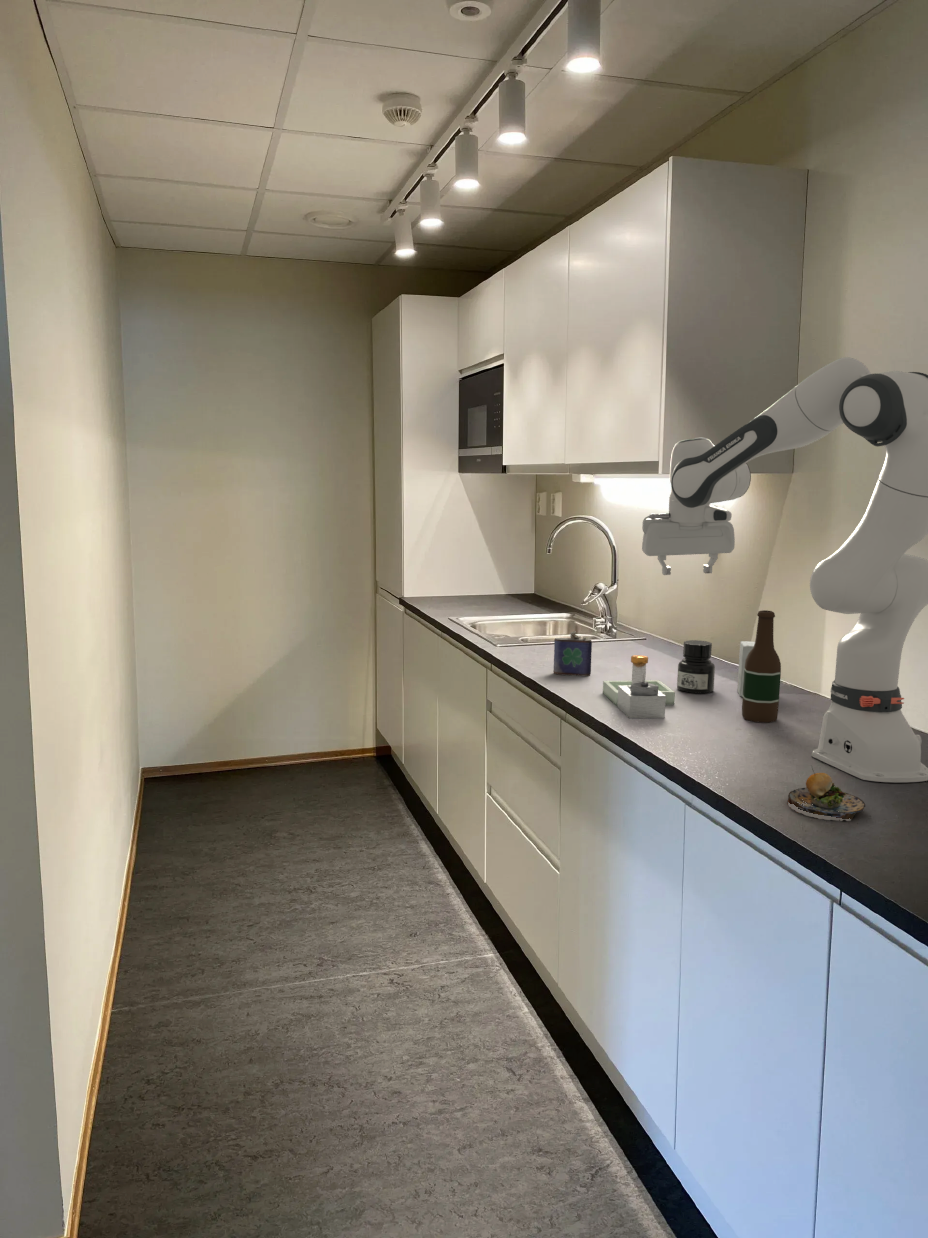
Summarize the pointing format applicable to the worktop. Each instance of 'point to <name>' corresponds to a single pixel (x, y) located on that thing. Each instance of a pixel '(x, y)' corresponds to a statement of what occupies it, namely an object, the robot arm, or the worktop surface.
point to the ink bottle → (696, 668)
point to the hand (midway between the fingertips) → (687, 573)
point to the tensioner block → (641, 701)
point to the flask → (572, 655)
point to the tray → (612, 686)
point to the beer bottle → (762, 674)
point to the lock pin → (639, 668)
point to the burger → (825, 798)
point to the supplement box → (743, 663)
